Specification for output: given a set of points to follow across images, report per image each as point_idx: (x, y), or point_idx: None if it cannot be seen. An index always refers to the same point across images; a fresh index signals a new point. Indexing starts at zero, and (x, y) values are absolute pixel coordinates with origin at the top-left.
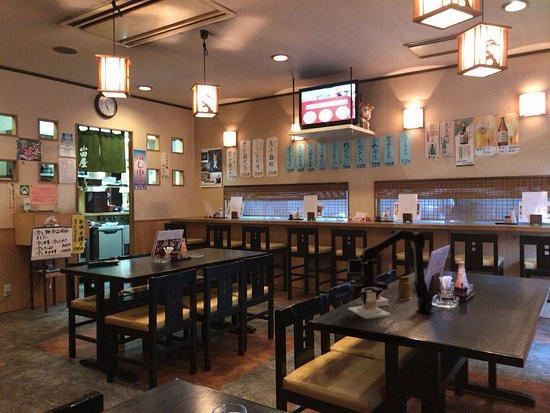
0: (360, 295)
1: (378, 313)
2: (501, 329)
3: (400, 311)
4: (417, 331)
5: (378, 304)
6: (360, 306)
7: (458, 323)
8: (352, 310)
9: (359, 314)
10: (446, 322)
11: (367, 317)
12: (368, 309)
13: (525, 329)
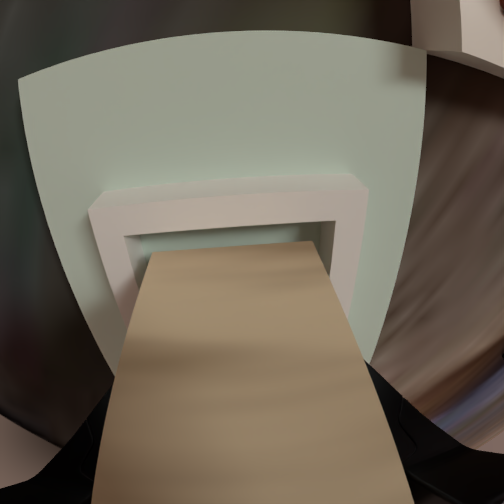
0: (65, 461)
1: None
2: (475, 442)
3: (494, 286)
4: None
5: (498, 73)
6: (136, 223)
7: (465, 427)
8: (45, 201)
9: (98, 334)
10: (453, 426)
11: None
12: (258, 232)
13: (499, 433)
